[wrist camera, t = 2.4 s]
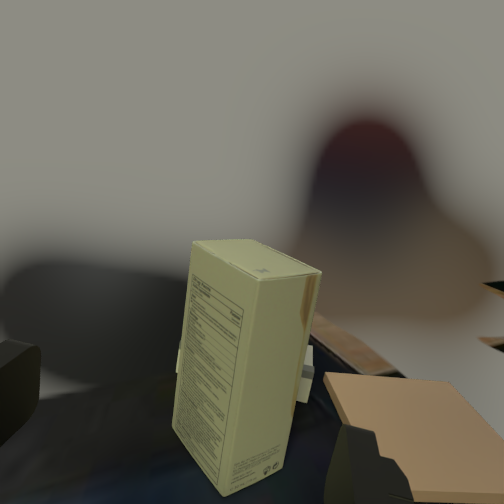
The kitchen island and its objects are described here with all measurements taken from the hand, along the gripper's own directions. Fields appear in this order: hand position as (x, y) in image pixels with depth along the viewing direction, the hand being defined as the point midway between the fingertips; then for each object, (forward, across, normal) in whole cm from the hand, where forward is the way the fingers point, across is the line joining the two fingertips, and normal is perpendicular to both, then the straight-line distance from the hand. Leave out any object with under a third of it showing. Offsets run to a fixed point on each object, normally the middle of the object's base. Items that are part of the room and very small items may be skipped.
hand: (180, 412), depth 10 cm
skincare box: (+12, 0, +11) cm, 16 cm away
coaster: (+17, -14, +11) cm, 24 cm away
